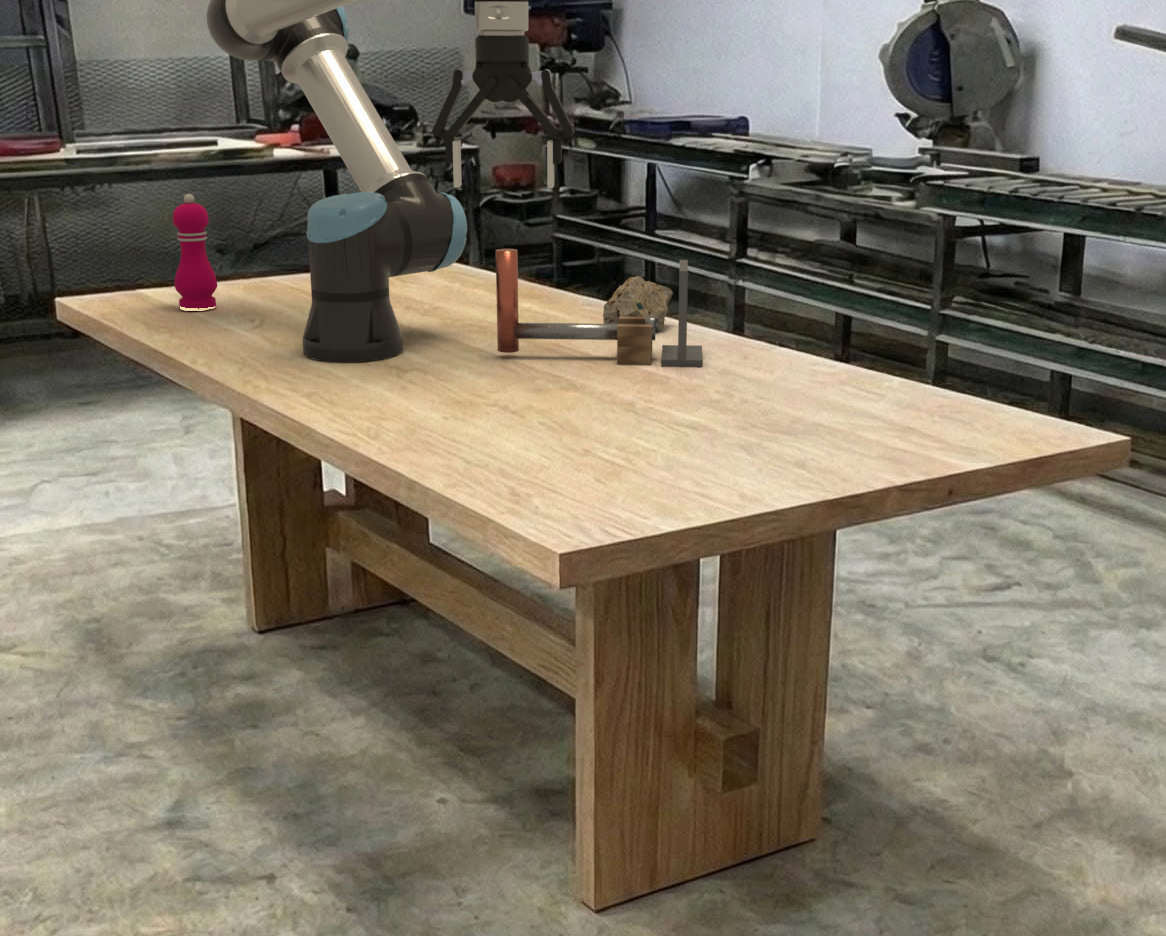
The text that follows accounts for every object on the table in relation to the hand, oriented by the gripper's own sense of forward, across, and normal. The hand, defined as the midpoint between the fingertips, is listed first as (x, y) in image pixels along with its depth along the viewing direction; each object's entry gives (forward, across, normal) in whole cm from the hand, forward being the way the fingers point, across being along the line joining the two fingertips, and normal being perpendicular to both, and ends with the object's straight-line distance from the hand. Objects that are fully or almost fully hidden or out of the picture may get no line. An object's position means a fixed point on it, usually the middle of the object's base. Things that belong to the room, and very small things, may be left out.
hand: (504, 187), depth 209 cm
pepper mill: (+26, -59, +35) cm, 73 cm away
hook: (+24, +11, 0) cm, 26 cm away
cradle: (+25, +19, 0) cm, 32 cm away
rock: (+26, +20, +20) cm, 38 cm away
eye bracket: (+25, +26, 0) cm, 36 cm away
